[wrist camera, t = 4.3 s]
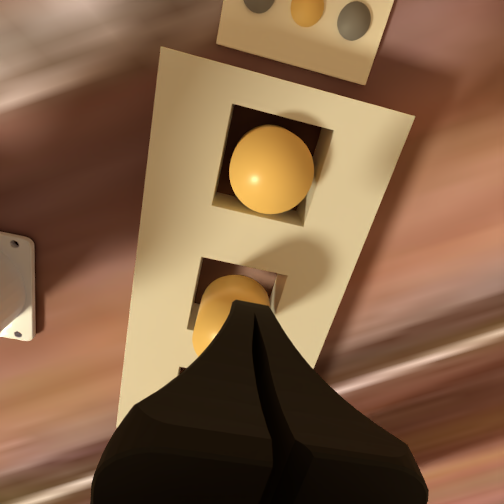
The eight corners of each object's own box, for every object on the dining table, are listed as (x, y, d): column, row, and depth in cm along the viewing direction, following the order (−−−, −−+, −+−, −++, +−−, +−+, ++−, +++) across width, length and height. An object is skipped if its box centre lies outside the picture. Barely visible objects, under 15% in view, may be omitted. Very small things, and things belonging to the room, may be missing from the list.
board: (129, 394, 27) (116, 427, 24) (174, 55, 17) (160, 45, 15) (276, 419, 28) (279, 453, 25) (390, 114, 19) (415, 116, 16)
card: (216, 44, 17) (215, 42, 17) (238, -81, 15) (237, -86, 15) (363, 85, 18) (366, 85, 18) (401, -28, 16) (405, -32, 16)
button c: (225, 188, 20) (221, 203, 16) (241, 116, 18) (239, 118, 15) (292, 204, 20) (299, 222, 17) (313, 134, 18) (325, 140, 15)
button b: (195, 326, 20) (186, 364, 17) (208, 268, 19) (200, 299, 16) (260, 338, 21) (261, 378, 18) (277, 283, 19) (282, 316, 16)
